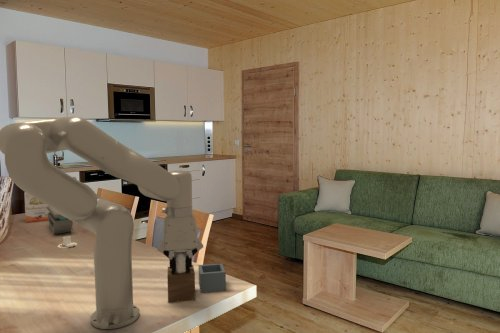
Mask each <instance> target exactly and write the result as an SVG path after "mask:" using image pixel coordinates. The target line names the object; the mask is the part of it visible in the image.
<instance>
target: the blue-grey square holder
mask: <svg viewBox="0 0 500 333" xmlns="http://www.w3.org/2000/svg"><path fill="white" fill-rule="evenodd" d="M226 274H227V273H226V270H225V267H224V264H223V263H212V264H211V263H210V264H209V263H208V264H198V286H199V292H200V293H211V292H221V291H226V288H227V286H226V285H227V280H226V278H227V276H226Z"/></svg>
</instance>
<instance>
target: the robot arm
mask: <svg viewBox="0 0 500 333" xmlns="http://www.w3.org/2000/svg"><path fill="white" fill-rule="evenodd" d="M61 151H69V152H71V153H73V154H75V155H76V156H78V157H80V159H83V160H84V161H87V162H88V163H90V164H91V165H93V166H94V167H96V168H98V169H99V170H101V171H103V172H104V173H106V174H108V175H111V176H113V177H115V178H118V179H120V180H124V181H127V182H129V183H132V184H134V185H136V186H137V188H138V191H139V193H140V194H142V195H143V196H145V197H148V198H151V199H155V200H159V201H163V202H166V207H164V208H161V213H162V214H166V215H165V216H164V219H163V227H162V228H163V229H162V239H161V241H159V242H160V243H159V244H158V246H157V247H156V251H158V252H159V253H161V254H163V255H164V256H165V257H166V258H168V260H169V267H170V269H172V272H174V251H176V250H187V271H190V267H192V265H193V257H194V256H195V254H197V252H199V251H201V250H202V249H203V248H204V244H203V243H202V241H201V240H200V239H199V237H198V227H197V221H196V216H195V215H194V214H193V184H192V182H193V178H192V177H193V176H192V173H191V172H190V171H188V170H171V171H168V170H167V169H165V168H164V167H162V166H161V165H159V164H158V163H156V162H154V161H153V160H151V159H149V158H147V157H145V156H143V155H142V154H140V153H138V152H137V151H136V150H133V149H132V148H129V147H127V146H126V145H124V144H123V143H121V142H120V141H118V140H116V139H115V138H114V137H112V136H111V135H109V134H108V133H106V132H105V131H104V130H102V129H100V128H99V127H98V126H96V125H94V124H93V123H92V122H90V121H89V120H87V119H85V118H82V117H79V116H66V117H65V116H64V117H58V118H53V119H52V118H51V119H46V120H45V119H44V120H35V121H34V120H33V121H25V122H24V121H23V122H14V123H10V124H7V125H5V126H3V127H2V128H1V129H0V152H1V153H2V154H3V155H4V165H5V169H6V171H7V173H8V176H9V177H10V179H11V181H12V182H13V183H14V184H15V185H16V186H17V187H18V188H19V189H21V190H22V191H23V192H24V191H25V192H26V193H28V194H29V195H31V196H33V197H34V198H36V199H38V200H39V201H41V202H43V203H44V204H46V205H48V206H49V207H50V208H51V209H52V210H53V211H55V212H56V213H58V214H60V215H62V216H64V217H65V218H67V219H69V220H71V221H73V223H75V224H77V225H78V226H79V227H80V226H81V227H82V228H84V229H86V230H87V231H90V232H91V233H93V234H95V244H94V249H93V263H94V264H93V266H94V268H93V269H94V285H95V286H94V287H95V288H94V289H95V311H94V312H93V313H92V314H91V315H90V319H89V320H90V325H92V326H93V327H94V328H97V329H101V330H114V329H120V328H122V327H126V326H128V325H130V324H132V323H134V322H135V321H136V320H138V319H139V317H140V309H139V307H138V306H137V305H135V304H134V291H133V290H134V288H133V261H132V260H133V259H132V257H133V255H132V252H133V251H132V250H133V249H132V247H133V244H132V243H133V234H134V229H135V228H134V227H135V224H134V222H135V220H134V218H133V214H132V213H131V211H129V209H128V208H126V207H125V206H124V205H122V204H120V203H116V202H113V201H110V200H108V199H105V198H103V197H102V196H100V195H98V194H97V193H96V192H95V191H94V190H93V188H92V187H90V186H89V185H87V184H86V183H84V182H82V181H79V180H78V179H77V178H75V177H73V176H71V175H69V174H68V173H67V172H65V171H63V170H61V168H59V167H57V166H56V165H54V164H53V163H52V162H51V160H50V159H49V157H48V154H51V153H56V152H61Z"/></svg>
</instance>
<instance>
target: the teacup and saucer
mask: <svg viewBox="0 0 500 333" xmlns="http://www.w3.org/2000/svg"><path fill="white" fill-rule="evenodd" d="M71 240H72V237H71V236H70V235H68V236H63V237H62V241H63V243H60V244H58V245H57V248H59V249H68V248H73V246H74V247H76V246H77V245H78V242H74V241H73V242H72V241H71ZM62 244H63V245H64V247H63V246H62ZM60 245H61V246H60Z"/></svg>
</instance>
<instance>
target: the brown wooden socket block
mask: <svg viewBox="0 0 500 333" xmlns="http://www.w3.org/2000/svg"><path fill="white" fill-rule="evenodd" d="M187 272H188V273H186V274H174V272H172V269H170V266H167V303H174V302H175V303H179V302H186V301H187V302H189V301H196V275H195V274H196V273H195V267H194V264H192V267H190V271H187Z"/></svg>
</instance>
